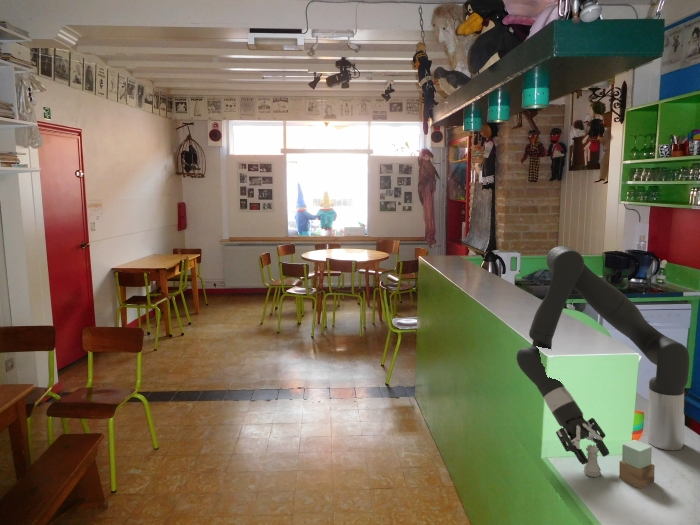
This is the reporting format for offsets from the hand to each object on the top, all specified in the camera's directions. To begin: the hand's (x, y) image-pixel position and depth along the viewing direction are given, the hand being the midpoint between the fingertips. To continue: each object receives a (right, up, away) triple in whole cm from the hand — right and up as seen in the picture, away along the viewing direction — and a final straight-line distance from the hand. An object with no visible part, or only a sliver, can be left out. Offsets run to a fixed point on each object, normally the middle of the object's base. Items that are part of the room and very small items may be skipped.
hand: (596, 459), depth 145 cm
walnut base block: (+10, -5, -3) cm, 11 cm away
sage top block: (+9, 0, -3) cm, 10 cm away
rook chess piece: (0, -5, +2) cm, 5 cm away
